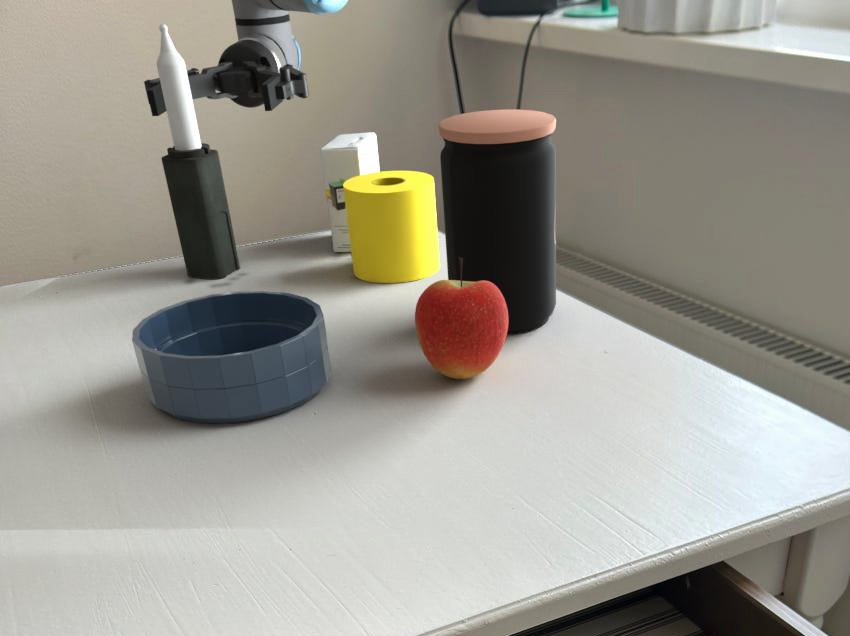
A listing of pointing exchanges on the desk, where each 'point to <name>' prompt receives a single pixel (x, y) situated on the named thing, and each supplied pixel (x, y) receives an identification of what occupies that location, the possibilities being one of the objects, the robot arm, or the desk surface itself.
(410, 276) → the yellow toilet paper roll
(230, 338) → the bowl
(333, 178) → the ink box
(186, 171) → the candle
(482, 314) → the apple
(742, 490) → the desk surface
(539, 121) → the coffee jar
